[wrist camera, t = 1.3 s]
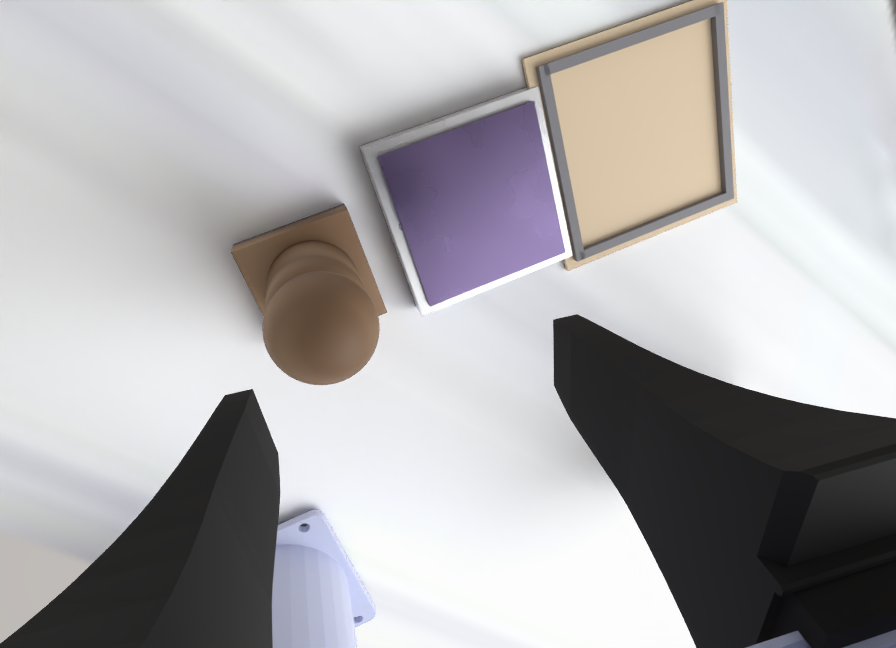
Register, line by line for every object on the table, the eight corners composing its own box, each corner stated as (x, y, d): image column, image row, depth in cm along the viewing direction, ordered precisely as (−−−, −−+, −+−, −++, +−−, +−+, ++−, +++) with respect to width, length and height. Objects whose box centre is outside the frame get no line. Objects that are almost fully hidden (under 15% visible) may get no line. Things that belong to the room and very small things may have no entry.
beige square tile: (565, 269, 25) (571, 273, 24) (521, 59, 21) (526, 58, 20) (733, 201, 26) (741, 203, 26) (722, -11, 22) (731, -13, 22)
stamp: (282, 341, 23) (284, 442, 16) (233, 244, 21) (213, 313, 14) (382, 302, 23) (423, 383, 17) (343, 203, 21) (373, 252, 15)
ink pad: (417, 307, 24) (424, 318, 22) (359, 146, 20) (363, 149, 19) (561, 249, 24) (575, 257, 23) (527, 86, 21) (541, 86, 20)
